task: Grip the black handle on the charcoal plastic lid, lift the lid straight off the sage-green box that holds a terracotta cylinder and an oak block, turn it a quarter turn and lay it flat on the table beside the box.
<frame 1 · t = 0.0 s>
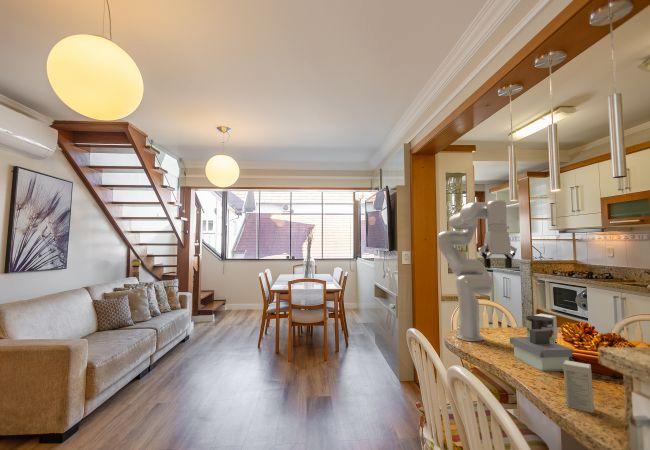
hand: (498, 267, 141), 37 cm above the kitchen counter, tool pointing down, fingers open, 9 cm apart
lid: (539, 345, 128), point 7 cm above the kitchen counter, touching box
box: (540, 363, 128), on the kitchen counter
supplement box: (545, 342, 157), on the kitchen counter
skincare box: (579, 407, 93), on the kitchen counter
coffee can: (540, 350, 145), on the kitchen counter
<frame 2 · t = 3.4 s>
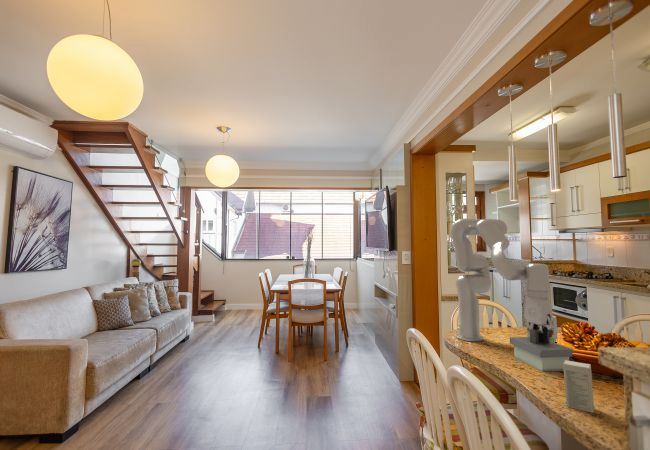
hand: (539, 341, 128), 9 cm above the kitchen counter, tool pointing down, fingers closed on lid, 3 cm apart
lid: (539, 345, 128), point 7 cm above the kitchen counter, touching box, gripper
everything else where it was.
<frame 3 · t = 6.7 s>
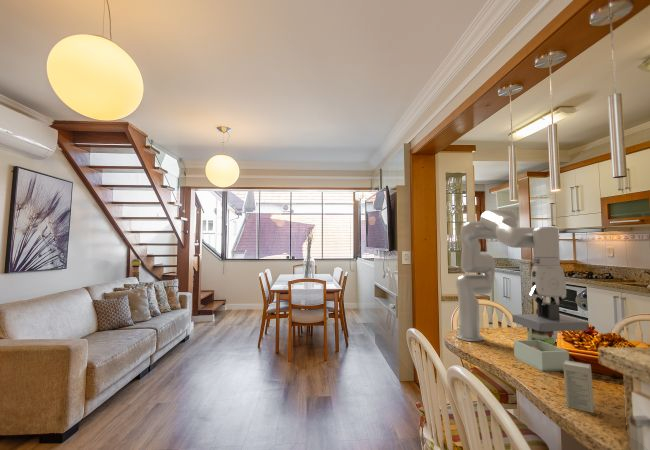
hand: (548, 315, 111), 22 cm above the kitchen counter, tool pointing down, fingers closed on lid, 3 cm apart
lid: (548, 321, 111), point 21 cm above the kitchen counter, touching gripper
everything else where it was.
when the fingers open (5 cm above the kitchen counter, at t = 10.0 s): lid drops 2 cm, point 2 cm above the kitchen counter.
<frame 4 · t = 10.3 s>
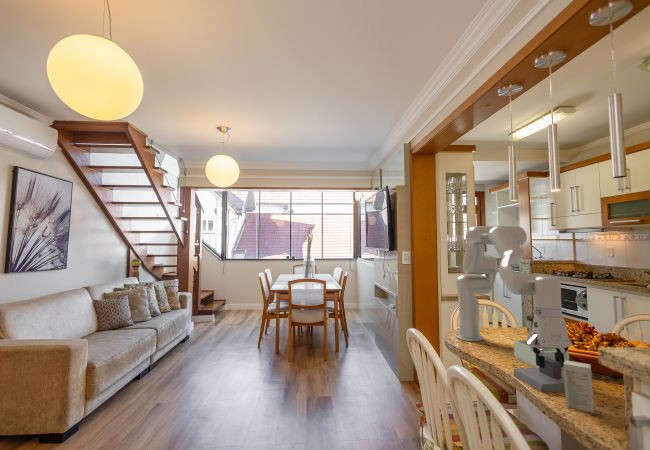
hand: (550, 365, 110), 6 cm above the kitchen counter, tool pointing down, fingers open, 6 cm apart
lid: (550, 378, 110), point 2 cm above the kitchen counter
everything else where it was.
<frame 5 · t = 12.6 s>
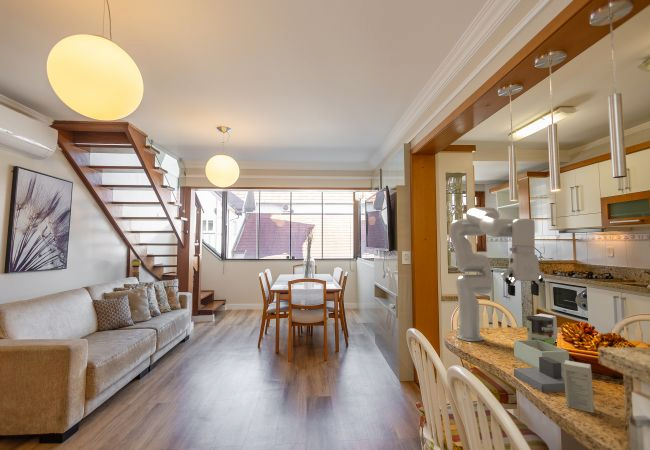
hand: (523, 295, 125), 27 cm above the kitchen counter, tool pointing down, fingers open, 9 cm apart
nothing on the kitchen counter moved.
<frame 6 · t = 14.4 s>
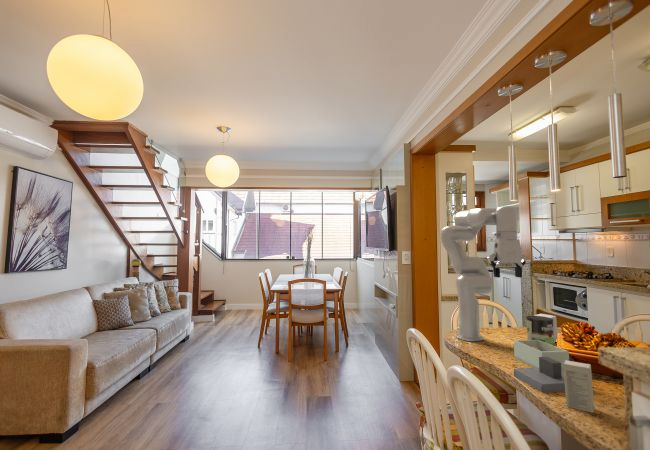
hand: (507, 277, 135), 33 cm above the kitchen counter, tool pointing down, fingers open, 9 cm apart
nothing on the kitchen counter moved.
at the end: lid touching kitchen counter; lid inside the target area (0.1 cm from its centre), point 1.6 cm above the kitchen counter; lid tilted 0° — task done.
